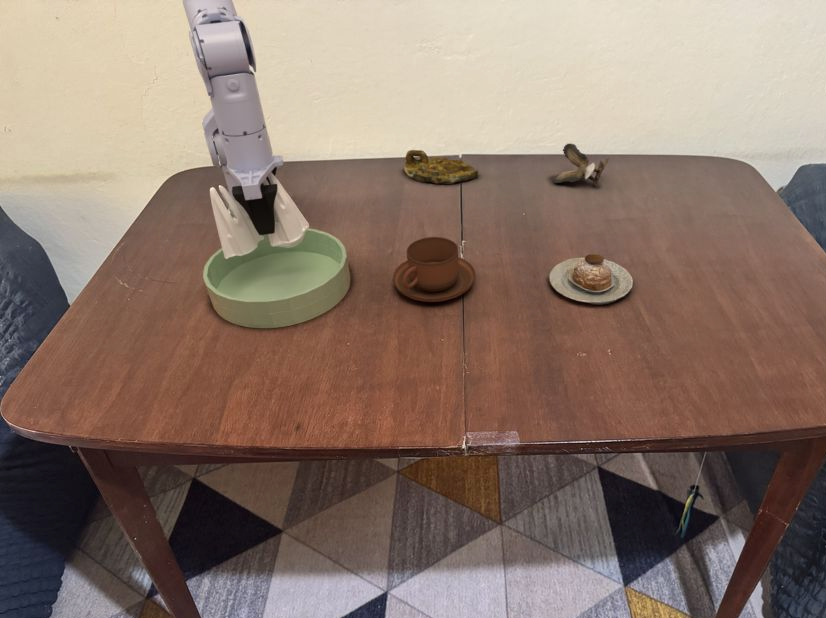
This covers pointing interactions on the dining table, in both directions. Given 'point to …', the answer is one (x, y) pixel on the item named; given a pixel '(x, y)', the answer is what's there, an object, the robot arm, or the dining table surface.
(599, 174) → the eagle figurine
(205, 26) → the robot arm
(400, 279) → the cup and saucer
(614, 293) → the pastry
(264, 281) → the bowl
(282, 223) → the shaker set
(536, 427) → the dining table surface
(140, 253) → the dining table surface
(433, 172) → the seal
